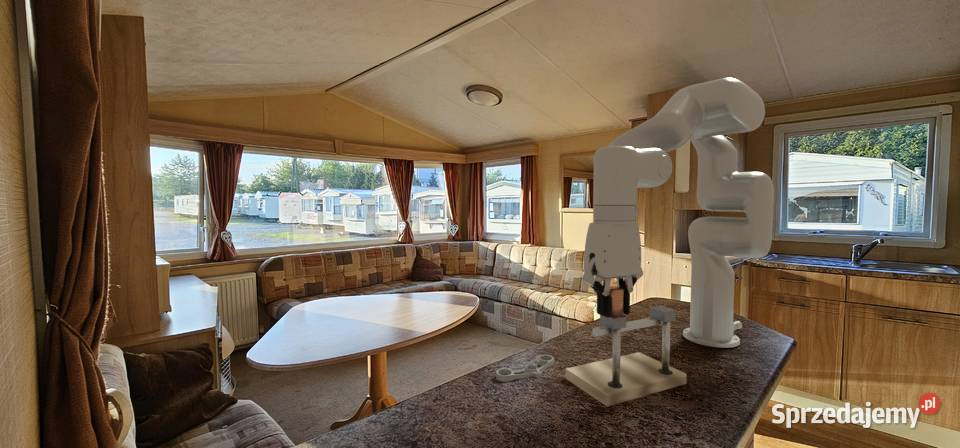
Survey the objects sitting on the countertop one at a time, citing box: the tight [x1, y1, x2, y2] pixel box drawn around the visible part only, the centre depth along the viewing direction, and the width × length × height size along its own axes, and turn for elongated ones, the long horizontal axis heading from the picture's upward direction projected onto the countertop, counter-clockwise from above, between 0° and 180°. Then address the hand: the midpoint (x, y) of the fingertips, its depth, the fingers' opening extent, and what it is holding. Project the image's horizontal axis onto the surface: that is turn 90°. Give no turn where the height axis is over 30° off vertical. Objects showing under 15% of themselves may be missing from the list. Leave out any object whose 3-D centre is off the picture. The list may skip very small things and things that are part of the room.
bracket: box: [495, 354, 555, 383], centre depth 83 cm, size 8×2×15 cm
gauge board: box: [564, 351, 687, 407], centre depth 78 cm, size 20×12×2 cm, turn 114°
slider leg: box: [599, 285, 628, 385], centre depth 72 cm, size 4×4×18 cm
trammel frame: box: [592, 305, 677, 373], centre depth 75 cm, size 18×4×12 cm, turn 114°
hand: (613, 313), depth 72 cm, fingers closed on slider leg, 3 cm apart
